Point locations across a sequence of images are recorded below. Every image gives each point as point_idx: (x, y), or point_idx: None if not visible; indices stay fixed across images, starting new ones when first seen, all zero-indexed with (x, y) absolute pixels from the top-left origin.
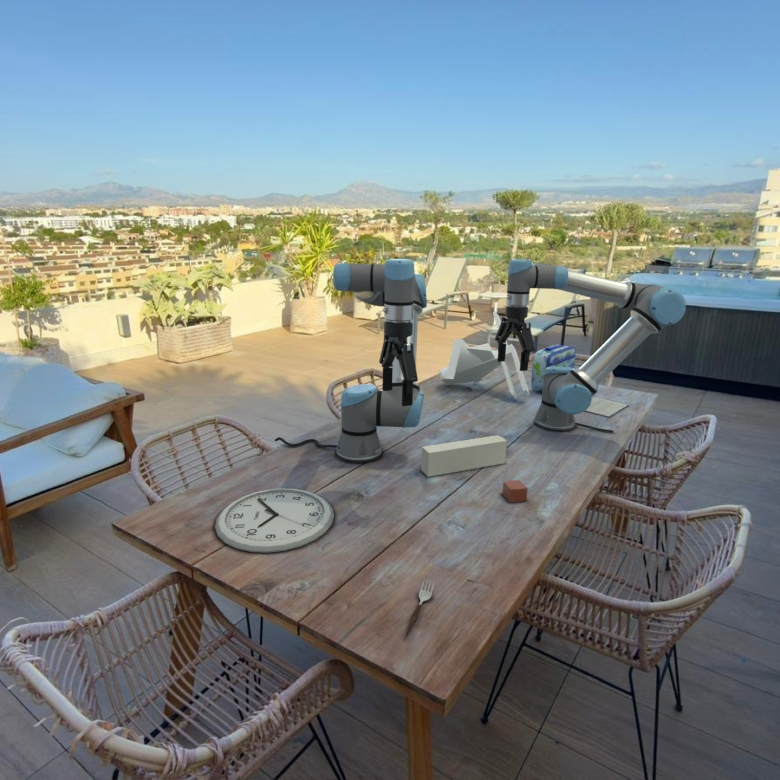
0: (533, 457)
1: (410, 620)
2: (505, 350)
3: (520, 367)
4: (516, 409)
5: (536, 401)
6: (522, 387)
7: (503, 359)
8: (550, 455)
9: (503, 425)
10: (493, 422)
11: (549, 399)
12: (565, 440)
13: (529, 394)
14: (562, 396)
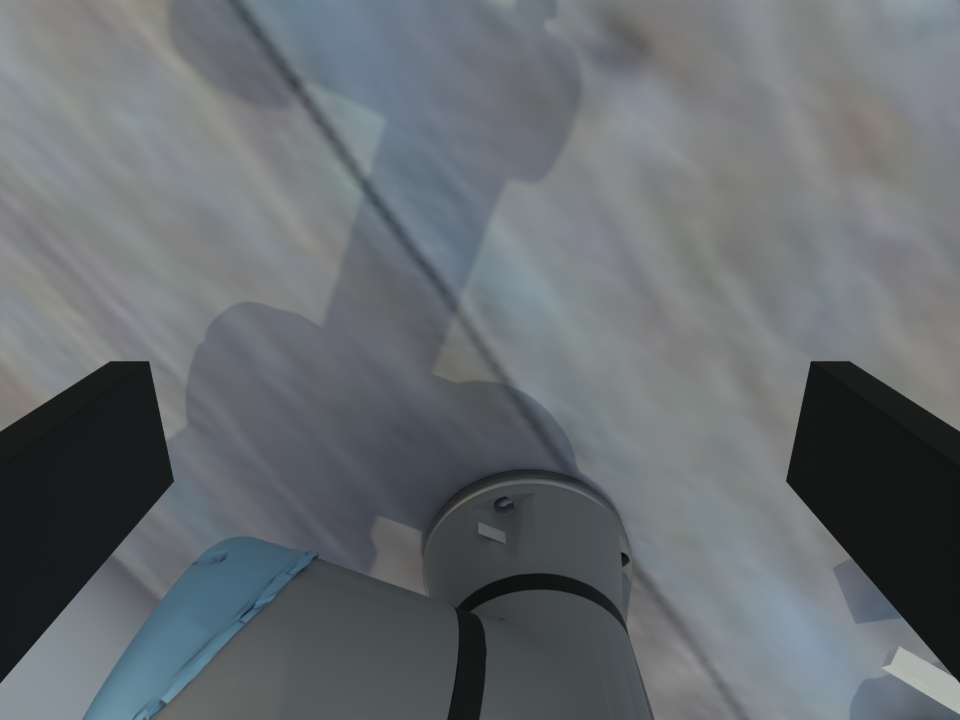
0: (153, 184)
1: None
2: (915, 622)
3: (96, 385)
4: (798, 513)
5: (838, 665)
6: (928, 665)
7: (809, 470)
8: (162, 289)
9: (624, 303)
10: (692, 274)
11: (506, 612)
12: (322, 476)
13: (881, 666)
14: (163, 600)
